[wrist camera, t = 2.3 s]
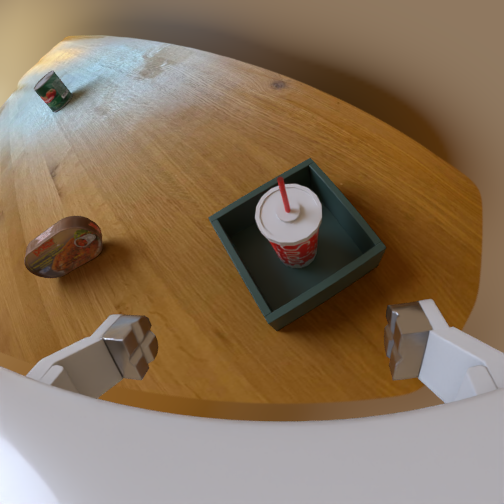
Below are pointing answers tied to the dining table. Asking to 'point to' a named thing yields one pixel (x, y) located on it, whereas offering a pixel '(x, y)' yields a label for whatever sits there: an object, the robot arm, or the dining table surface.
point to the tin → (64, 247)
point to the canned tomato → (53, 91)
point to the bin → (325, 262)
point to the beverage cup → (290, 222)
